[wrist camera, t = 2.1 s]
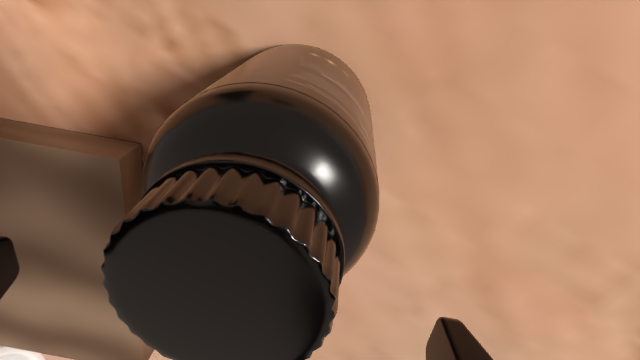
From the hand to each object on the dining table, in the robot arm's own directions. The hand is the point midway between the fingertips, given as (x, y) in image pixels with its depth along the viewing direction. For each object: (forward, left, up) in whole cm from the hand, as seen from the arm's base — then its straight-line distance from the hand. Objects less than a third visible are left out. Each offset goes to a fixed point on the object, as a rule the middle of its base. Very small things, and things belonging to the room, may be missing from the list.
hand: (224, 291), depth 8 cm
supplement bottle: (0, 0, -12) cm, 12 cm away
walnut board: (-11, +16, -12) cm, 23 cm away
